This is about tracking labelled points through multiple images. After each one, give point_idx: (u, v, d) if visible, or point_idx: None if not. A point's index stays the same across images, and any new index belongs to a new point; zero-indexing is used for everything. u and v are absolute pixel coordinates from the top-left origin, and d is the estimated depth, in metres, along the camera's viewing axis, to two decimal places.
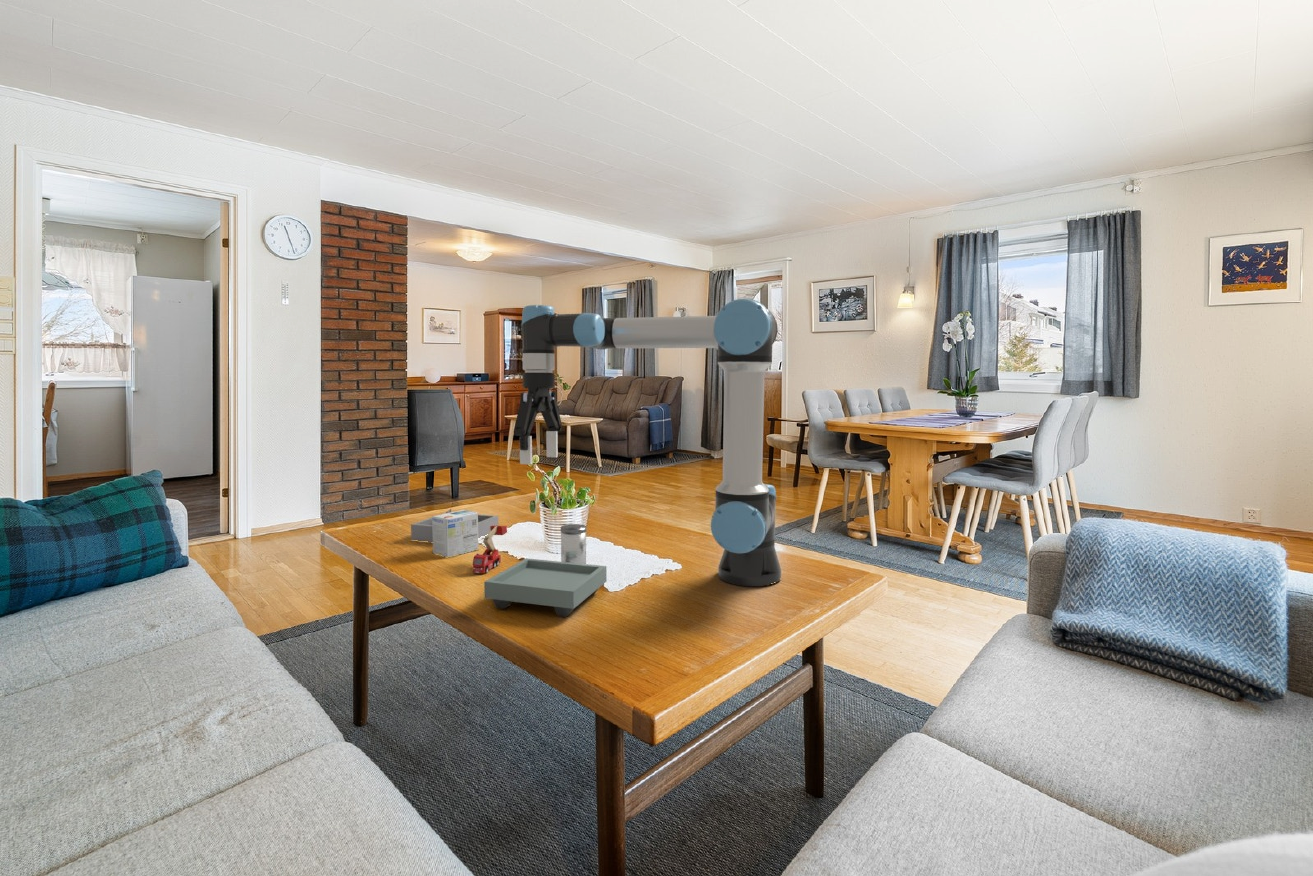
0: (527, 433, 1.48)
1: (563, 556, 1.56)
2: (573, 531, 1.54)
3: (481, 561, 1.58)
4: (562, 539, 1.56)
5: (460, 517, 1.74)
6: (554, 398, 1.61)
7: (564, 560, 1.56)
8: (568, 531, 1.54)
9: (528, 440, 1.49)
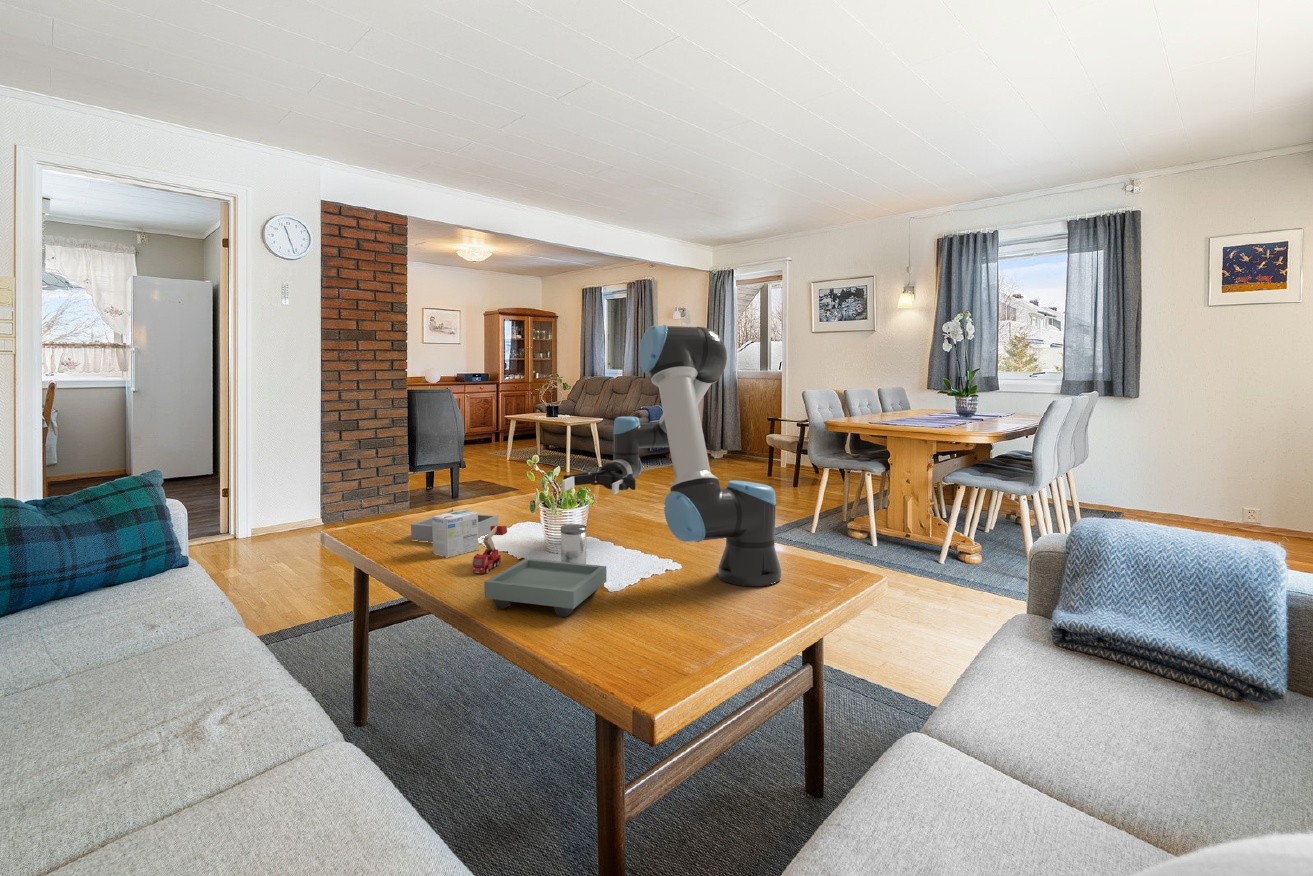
0: (569, 476, 1.74)
1: (563, 556, 1.56)
2: (573, 531, 1.54)
3: (481, 562, 1.58)
4: (562, 539, 1.56)
5: (460, 517, 1.74)
6: (628, 475, 1.77)
7: (564, 560, 1.56)
8: (568, 531, 1.54)
9: None
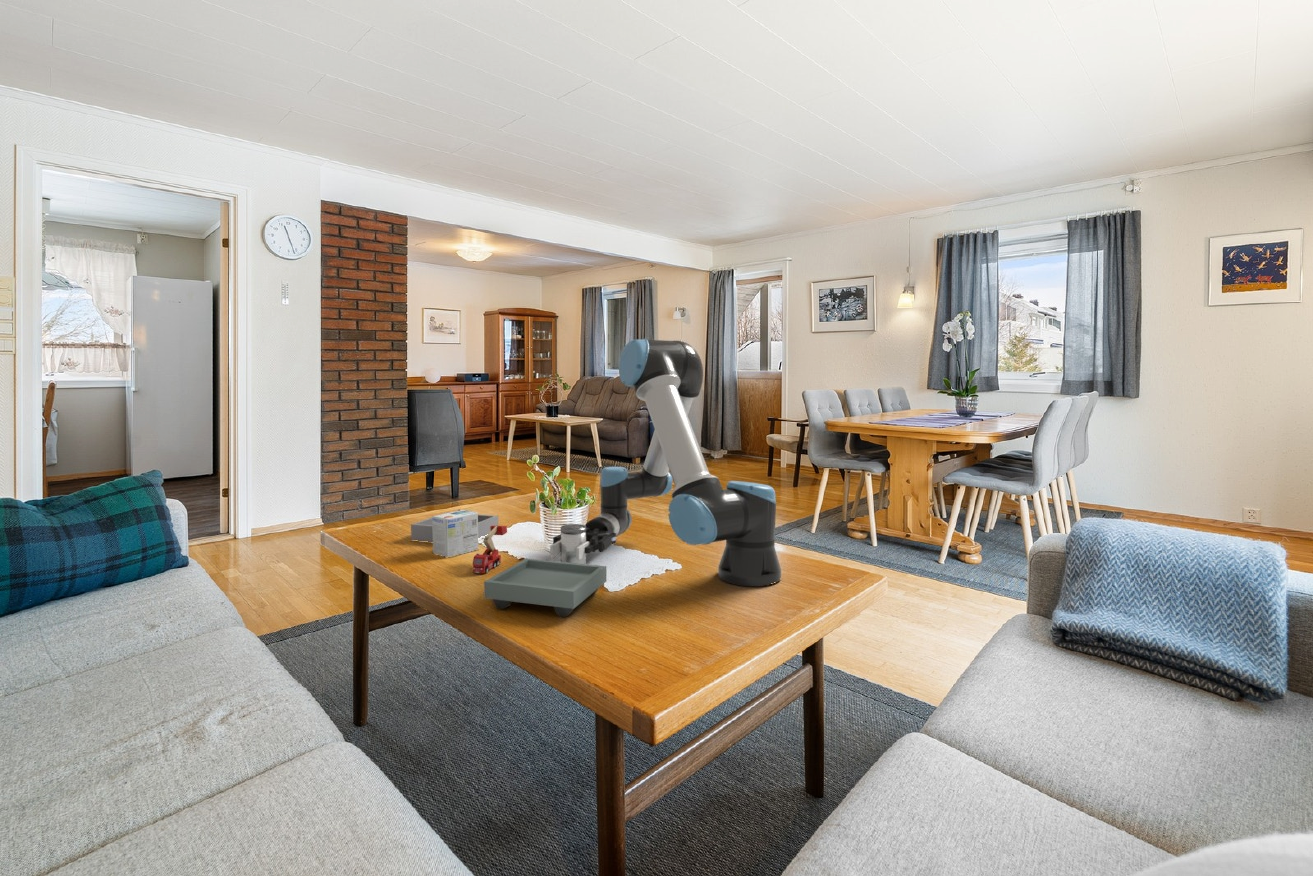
0: (559, 539, 1.61)
1: (563, 556, 1.56)
2: (573, 531, 1.54)
3: (481, 562, 1.58)
4: (562, 539, 1.56)
5: (460, 517, 1.74)
6: (610, 534, 1.66)
7: (564, 560, 1.56)
8: (568, 531, 1.54)
9: None
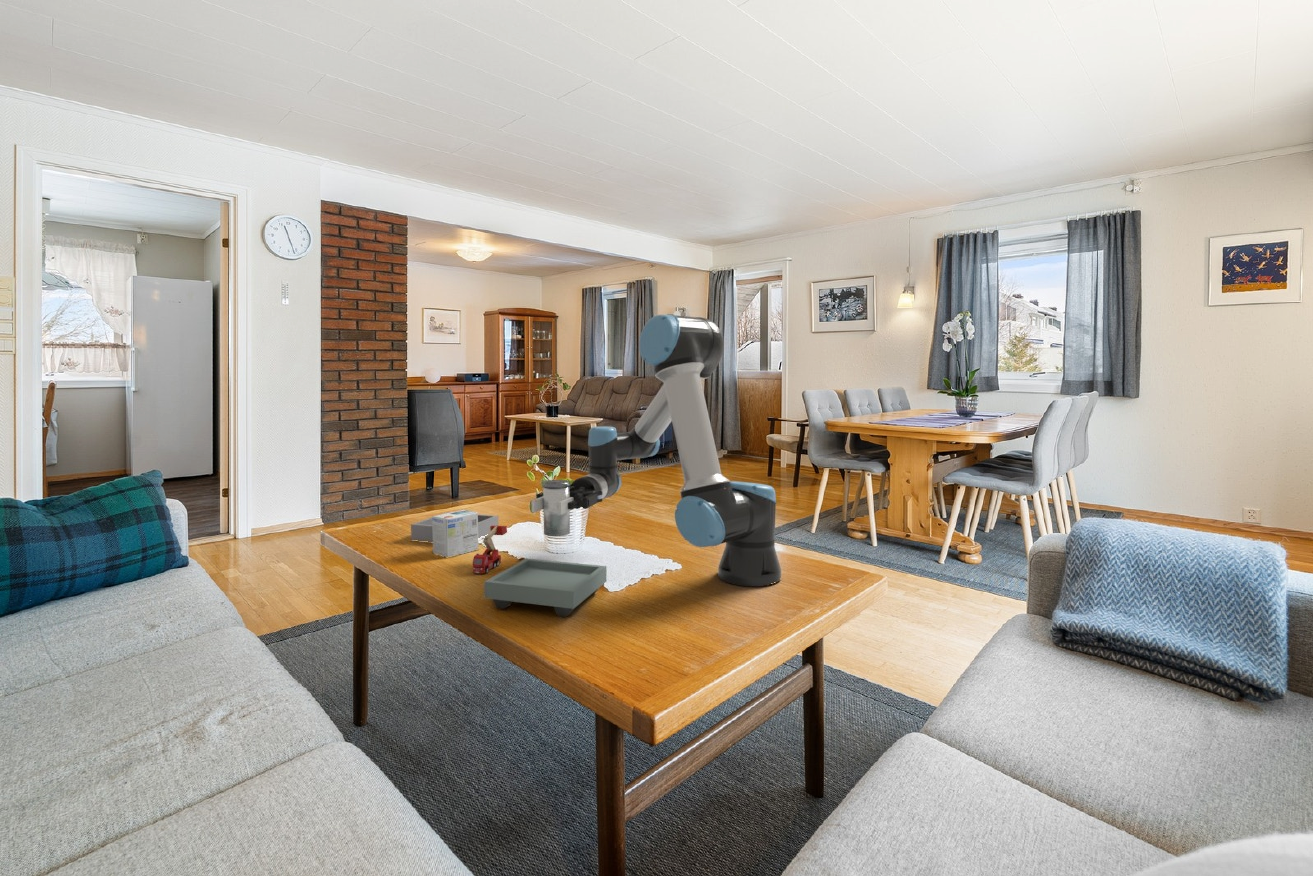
0: (542, 495, 1.54)
1: (545, 512, 1.49)
2: (555, 485, 1.47)
3: (481, 562, 1.58)
4: (544, 494, 1.49)
5: (460, 517, 1.74)
6: (596, 492, 1.59)
7: (546, 516, 1.49)
8: (550, 485, 1.47)
9: None
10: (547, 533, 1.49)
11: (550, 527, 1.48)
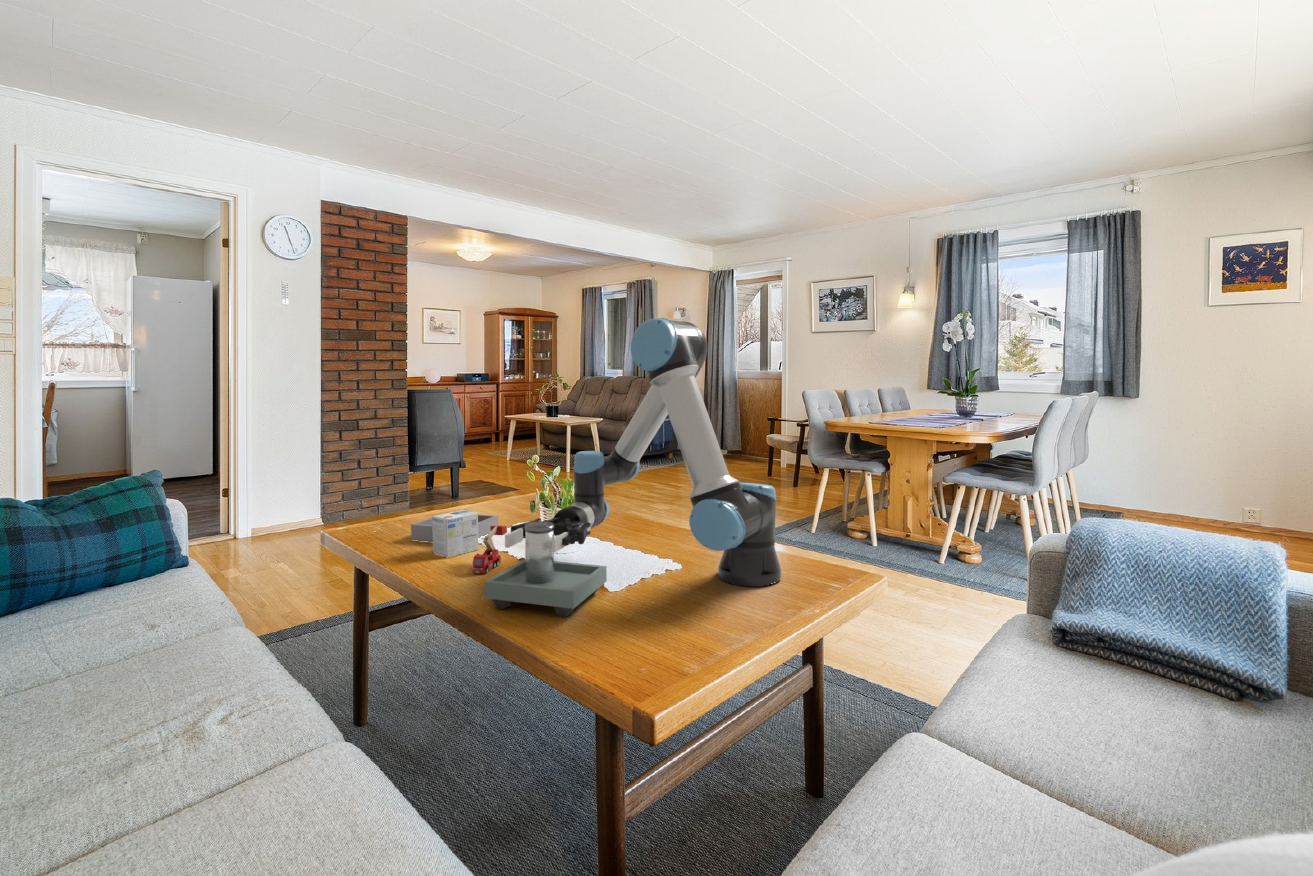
0: (517, 527, 1.44)
1: (527, 557, 1.38)
2: (538, 530, 1.36)
3: (481, 562, 1.58)
4: (526, 538, 1.38)
5: (460, 517, 1.74)
6: (584, 524, 1.48)
7: (528, 562, 1.38)
8: (533, 529, 1.36)
9: None
10: (529, 580, 1.38)
11: (532, 574, 1.38)
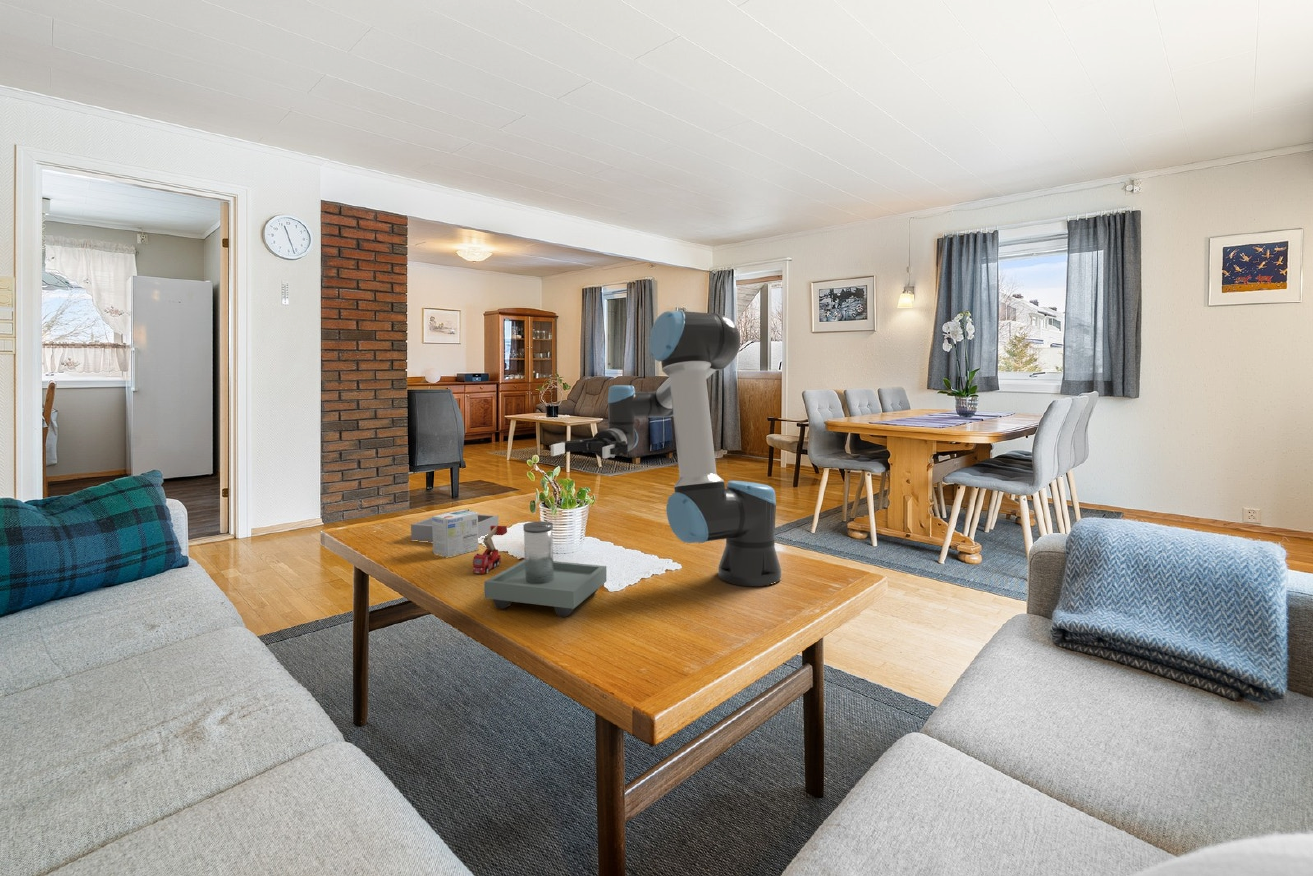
0: None
1: (527, 557, 1.38)
2: (537, 529, 1.37)
3: (481, 562, 1.58)
4: (525, 538, 1.38)
5: (460, 517, 1.74)
6: None
7: (528, 562, 1.38)
8: (532, 529, 1.37)
9: None
10: (529, 580, 1.38)
11: (533, 574, 1.38)
